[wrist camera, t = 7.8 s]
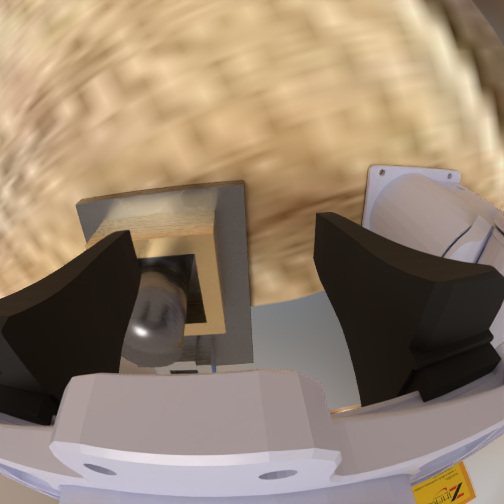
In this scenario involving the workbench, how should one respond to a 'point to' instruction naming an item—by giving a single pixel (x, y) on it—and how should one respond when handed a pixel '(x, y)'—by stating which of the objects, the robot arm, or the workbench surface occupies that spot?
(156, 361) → the dark grey cylinder
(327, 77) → the workbench surface
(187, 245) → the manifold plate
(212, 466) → the robot arm
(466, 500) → the packaging box
